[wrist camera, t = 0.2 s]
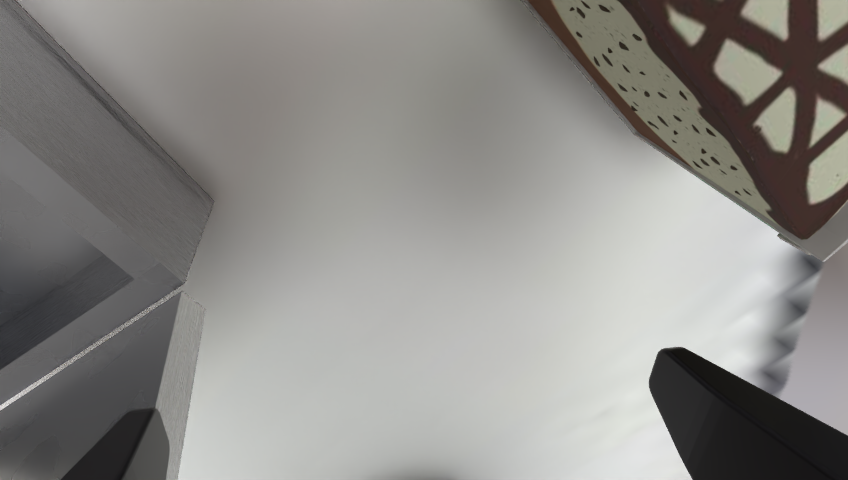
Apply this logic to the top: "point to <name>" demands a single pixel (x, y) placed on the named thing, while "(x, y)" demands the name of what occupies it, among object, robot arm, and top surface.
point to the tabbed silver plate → (107, 394)
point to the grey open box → (78, 209)
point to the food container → (729, 97)
